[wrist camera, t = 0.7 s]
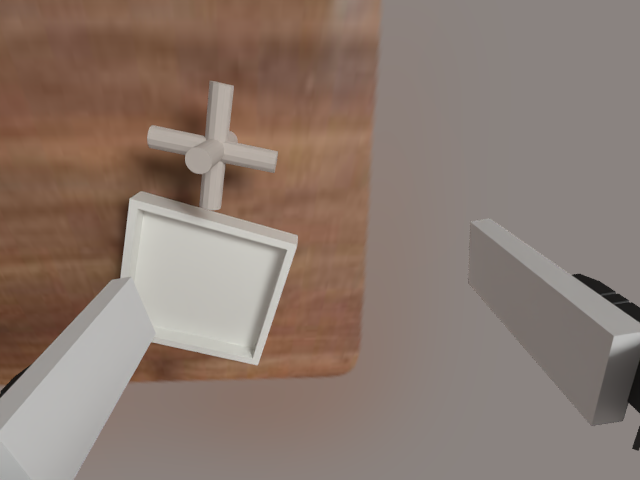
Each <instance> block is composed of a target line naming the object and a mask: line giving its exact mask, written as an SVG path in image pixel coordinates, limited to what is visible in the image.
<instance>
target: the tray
mask: <svg viewBox="0 0 640 480" xmlns="http://www.w3.org/2000/svg"><path fill="white" fill-rule="evenodd" d="M297 242H298V235H295V234H291V233H288V232H284V231H281V230H277V229H274V228H270V227H267V226H263V225H259V224H256V223H252V222H249V221H245V220H242V219H238V218H235V217H231V216H228V215H224V214H221V213H217V212H214V211H210V210H206V209H203V208H199V207H196V206H192V205H189V204H185V203H182V202H178V201H175V200H171V199H168V198H164V197H161V196H157V195H153V194H150V193H146V192H143V191H141V192H139V193H137V194H136V195H134V196H133V197H131V198H130V200H129V209H128V217H127V226H126V234H125V243H124V251H123V260H122V268H121V276H120V278H126V277H132V279H133V281H134V284H135V286H136V288H137V291H138V293H139V295H140V298H141V300H142V302H143V305H144V307H145V309H146V312H147V314H148V316H149V319H150V321H151V323H152V325H153V328H154V330H155V332H156V334H155V336H154V338H153V339H152V341H151V342H153V343H158V344H162V345H167V346H171V347H176V348H181V349H185V350H190V351H194V352H199V353H203V354H208V355H213V356H217V357H222V358H226V359H231V360H236V361H240V362H245V363H249V364H254V365H258V363H259V360H260V357H261V354H262V351H263V348H264V345H265V342H266V339H267V336H268V333H269V330H270V327H271V324H272V321H273V318H274V315H275V311H276V308H277V305H278V302H279V299H280V296H281V293H282V290H283V287H284V284H285V281H286V278H287V275H288V272H289V269H290V266H291V263H292V260H293V257H294V254H295V251H296V248H297Z"/></svg>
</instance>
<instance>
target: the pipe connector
mask: <svg viewBox="0 0 640 480" xmlns="http://www.w3.org/2000/svg"><path fill="white" fill-rule="evenodd" d="M233 89H234V86H232V85H228V84H224V83H219V82H215V81H210V84H209V96H208V108H207V120H206V132H205V136H202V135H197V134H192V133H187V132H182V131H178V130H173V129H168V128H163V127H159V126H154V125H152V126H151V127H150V128H149V131H148V137H147V141H148V146H149V148H153V149H158V150H163V151H168V152H173V153H178V154H183V155H185V163H186V165H187V167H188V168H189V169H190V170H191V171H192V172H194V173H197V174H202V181H201V193H200V207H201V208H204V209H207V210H218V209H220V208H221V201H222V191H223V182H224V173H225V164H226V163H227V164H232V165H237V166H242V167H247V168H252V169H257V170H262V171H267V172H272V173H274V172H275V168H276V162H277V156H278V151H273V150H269V149H264V148H259V147H254V146H249V145H245V144H240V143H238V140H237V137H236V135H235V134H234V133H233V132H231V131H229V127H230V117H231V108H232V99H233Z"/></svg>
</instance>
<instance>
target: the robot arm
mask: <svg viewBox="0 0 640 480" xmlns="http://www.w3.org/2000/svg"><path fill="white" fill-rule="evenodd" d="M468 283H469V284H470V286H471V287H472V288H473V289H474V290H475V291H476V293H477V294H478V295H479V296H480V297H481V298H482V300H483V301H484V302H485V303H486V304H487V305H488V306H489V308H490V309H491V310H492V311H493V312H494V314H496V316H497V317H498V318H499V319H500V320H501V322H502V323H503V324H504V325H505V326H506V327H507V328H508V330H509V331H510V332H511V333H512V334H513V335H514V337H515V338H516V339H517V340H518V341H519V343H520V344H521V345H522V346H523V347H524V348H525V349H526V351H527V352H528V353H529V354H530V355H531V356H532V358H533V359H534V360H535V361H536V362H537V363H538V365H539V366H540V367H541V368H542V369H543V370H544V371H545V373H546V374H547V375H548V376H549V377H550V379H551V380H552V381H553V382H554V383H555V384H556V386H558V388H559V389H560V390H561V391H562V392H563V394H564V395H565V396H566V397H567V398H568V399H569V401H570V402H571V403H572V404H573V405H574V406H575V408H576V409H577V410H578V411H579V412H580V413H581V415H582V416H583V417H584V418H585V419H586V420H587V422H588V423H589V424H590V425H591V426H595V425H602V424H608V423H614V422H619V421H623V419H624V416H625V413H626V409H627V406H628V403H630V404H631V405H632V406H633V407H634V408H635V409H636V410H637V411H638V412H639V413H640V308H639V307H638V306H637V305H635V304H634V303H629V300H627V299H626V298H624V297H623V296H621V295H620V294H616V293H615V291H613V290H612V289H611V288H609V287H607V286H606V285H604V284H603V283H601V282H600V281H597V280H595V279H592V278H589V277H587V276H584V275H581V274H574V275H570V274H569V273H568V272H566V271H565V270H563V269H562V268H560V267H559V266H557V265H556V264H554V263H553V262H552V261H550V260H549V259H547V258H546V257H545V256H543V255H542V254H540V253H539V252H537V251H536V250H534V249H533V248H532V247H530V246H529V245H527V244H526V243H525V242H523V241H522V240H520V239H519V238H517V237H516V236H514V235H513V234H512V233H510V232H509V231H507V230H506V229H504V228H503V227H502V226H500V225H499V224H497V223H496V222H494V221H493V220H491V219H484V220H478V221H472V222H470V246H469V279H468ZM155 334H156V332H155V330H154V328H153V325H152V323H151V321H150V319H149V316H148V314H147V312H146V309H145V307H144V305H143V302H142V300H141V298H140V295H139V293H138V291H137V288H136V286H135V284H134V281H133V279H132V277H126V278H120V279H113V280H111V281H110V282H109V283H108V284H107V285H106V286H105V287H104V289H103V290H102V291H101V292H100V293H99V294H98V295H97V296H96V297H95V298H94V299H93V300H92V301H91V302H90V303H89V304H88V306H87V307H86V308H85V309H84V310H83V311H82V312H81V313H80V314H79V315H78V316H77V317H76V318H75V319H74V320H73V321H72V323H71V324H70V325H69V326H68V327H67V328H66V329H65V330H64V331H63V332H62V333H61V334H60V335H59V336H58V337H57V338H56V340H55V341H54V342H53V343H52V344H51V345H50V346H49V347H48V348H47V349H46V350H45V351H44V352H43V353H42V354H41V355H40V357H39V358H38V359H37V360H36V361H35V362H34V363H33V364H31V365H30V366H29V367H27V368H26V369H24V370H23V371H22V372H20V373H19V374H18V375H16V376H15V377H14V378H13V379H12V380H11V381H10V382H9V383H8V384H7V385H6V386H5V387H4V388H3V389H2V390H1V394H0V480H74V478H75V476H76V475H77V473H78V471H79V469H80V467H81V466H82V464H83V462H84V460H85V458H86V457H87V455H88V453H89V451H90V450H91V448H92V446H93V444H94V443H95V441H96V439H97V437H98V435H99V433H100V432H101V430H102V428H103V427H104V424H105V423H106V421H107V419H108V418H109V416H110V414H111V412H112V411H113V409H114V407H115V405H116V403H117V402H118V400H119V398H120V396H121V395H122V393H123V391H124V389H125V387H126V386H127V384H128V382H129V380H130V379H131V377H132V375H133V373H134V371H135V370H136V368H137V366H138V364H139V363H140V361H141V359H142V357H143V355H144V354H145V352H146V350H147V348H148V347H149V345H150V343H151V341H152V339H153V338H154V336H155ZM639 448H640V426H639V429H638V432H637V436H636V439H635V441H634V445H633V448H632V449H635V450H639Z"/></svg>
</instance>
